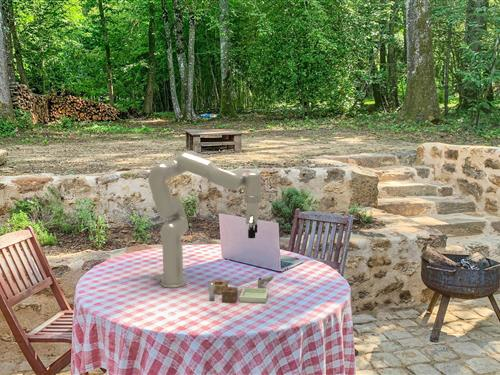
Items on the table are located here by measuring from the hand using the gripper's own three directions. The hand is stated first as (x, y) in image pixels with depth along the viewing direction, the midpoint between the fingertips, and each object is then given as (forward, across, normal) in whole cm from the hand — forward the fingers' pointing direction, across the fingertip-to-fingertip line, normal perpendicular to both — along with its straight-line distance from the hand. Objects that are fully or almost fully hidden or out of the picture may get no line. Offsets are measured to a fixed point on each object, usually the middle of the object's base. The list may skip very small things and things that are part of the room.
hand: (252, 235), depth 229 cm
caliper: (+28, -10, +6) cm, 30 cm away
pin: (+27, +13, -17) cm, 34 cm away
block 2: (+27, +12, -9) cm, 31 cm away
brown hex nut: (+27, +2, -16) cm, 31 cm away
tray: (+27, +8, +2) cm, 28 cm away
